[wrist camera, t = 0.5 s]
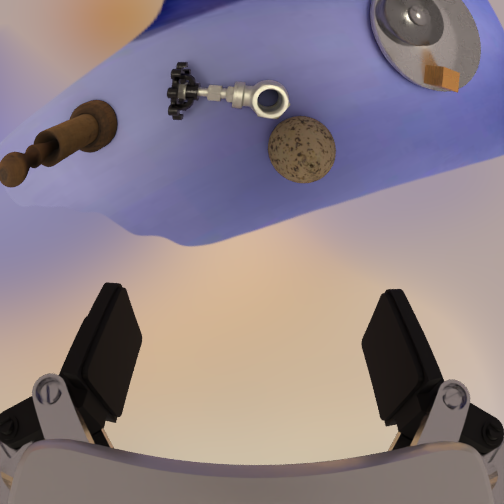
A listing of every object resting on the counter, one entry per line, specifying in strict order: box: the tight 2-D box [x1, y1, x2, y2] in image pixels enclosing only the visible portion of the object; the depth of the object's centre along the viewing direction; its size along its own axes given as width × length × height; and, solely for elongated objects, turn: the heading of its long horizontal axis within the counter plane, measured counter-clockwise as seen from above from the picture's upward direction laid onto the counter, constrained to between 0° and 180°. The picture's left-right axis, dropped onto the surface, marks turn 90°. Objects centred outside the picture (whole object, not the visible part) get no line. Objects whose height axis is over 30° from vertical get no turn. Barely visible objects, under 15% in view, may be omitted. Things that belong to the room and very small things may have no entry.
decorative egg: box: [268, 116, 336, 183], centre depth 29 cm, size 7×7×10 cm
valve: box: [167, 62, 290, 120], centre depth 27 cm, size 7×7×12 cm
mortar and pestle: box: [0, 100, 117, 187], centre depth 24 cm, size 7×6×18 cm
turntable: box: [370, 0, 481, 92], centre depth 20 cm, size 16×16×6 cm
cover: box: [375, 0, 444, 46], centre depth 19 cm, size 7×7×4 cm
